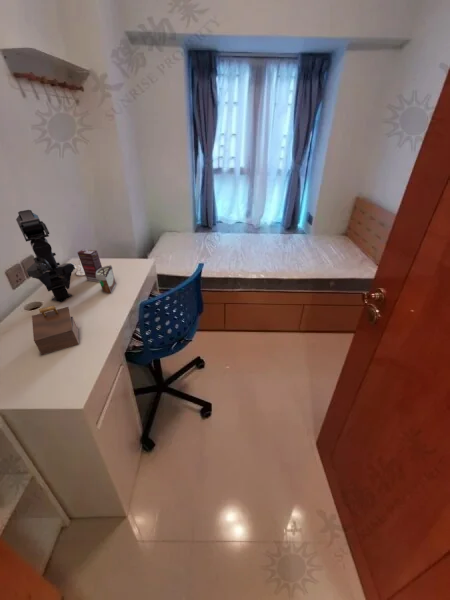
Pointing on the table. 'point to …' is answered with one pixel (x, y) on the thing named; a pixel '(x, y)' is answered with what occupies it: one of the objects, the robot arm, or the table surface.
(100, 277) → the food container
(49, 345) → the caddy
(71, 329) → the brown wooden lid
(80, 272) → the shell
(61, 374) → the table surface
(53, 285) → the robot arm
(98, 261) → the supplement box
